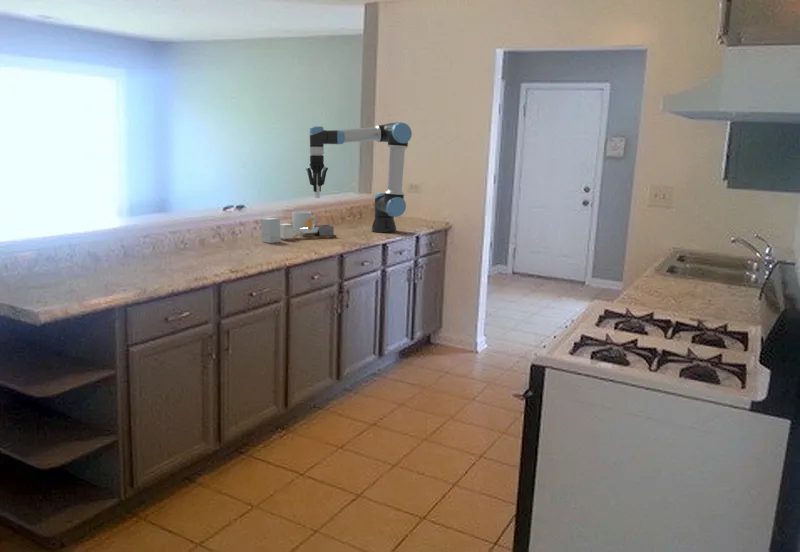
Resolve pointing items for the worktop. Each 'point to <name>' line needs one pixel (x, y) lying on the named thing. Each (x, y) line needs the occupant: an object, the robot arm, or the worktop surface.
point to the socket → (286, 231)
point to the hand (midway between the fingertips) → (317, 197)
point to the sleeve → (325, 230)
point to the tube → (308, 229)
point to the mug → (301, 220)
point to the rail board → (307, 237)
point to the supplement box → (270, 230)
